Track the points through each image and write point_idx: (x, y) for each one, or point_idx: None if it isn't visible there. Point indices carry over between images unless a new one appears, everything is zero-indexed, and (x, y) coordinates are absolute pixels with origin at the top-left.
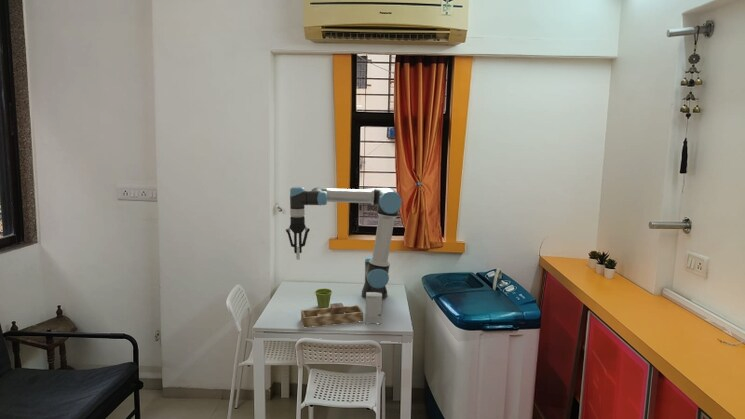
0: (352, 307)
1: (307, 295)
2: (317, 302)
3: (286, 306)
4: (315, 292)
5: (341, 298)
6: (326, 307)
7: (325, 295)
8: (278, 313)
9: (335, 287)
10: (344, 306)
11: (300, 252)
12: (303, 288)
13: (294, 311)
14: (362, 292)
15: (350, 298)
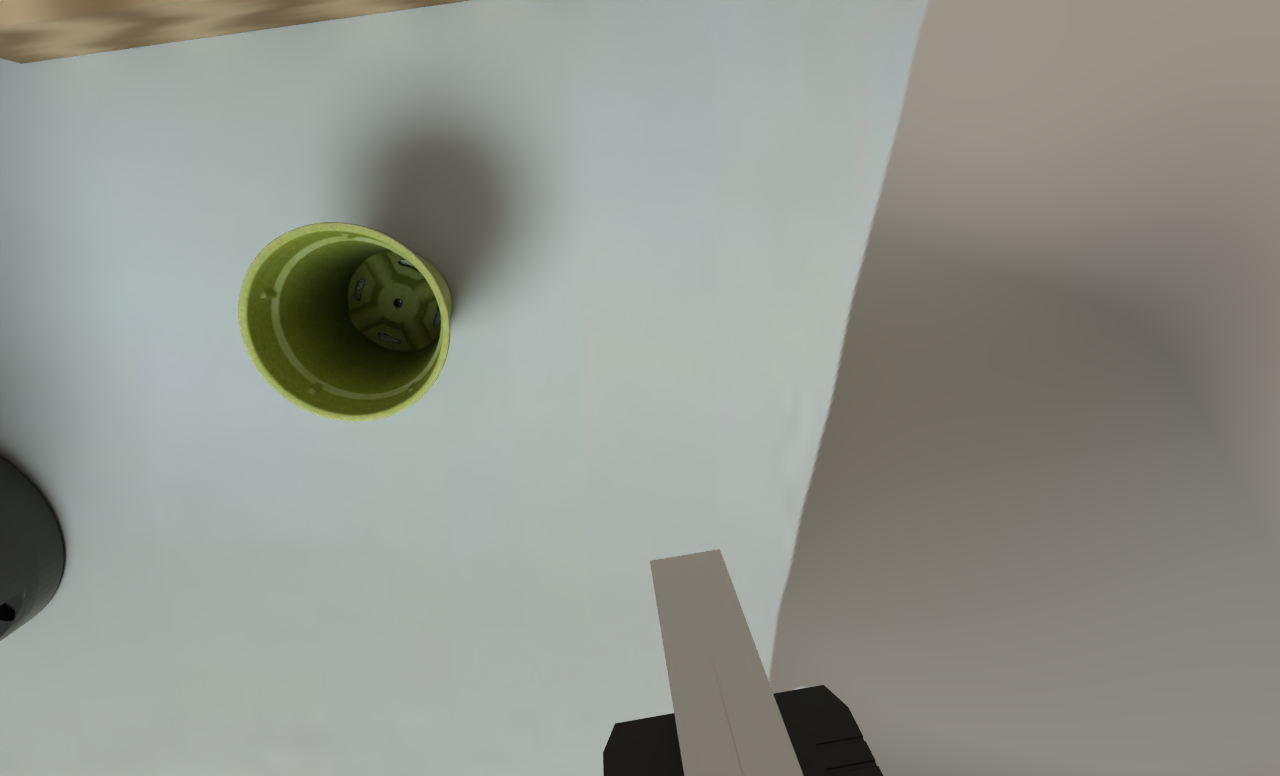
0: (1, 3)
1: (560, 556)
2: (445, 295)
3: (730, 326)
4: (438, 302)
5: (250, 476)
6: (367, 258)
7: (318, 233)
8: (798, 168)
9: (332, 715)
10: (92, 13)
11: (642, 734)
12: (600, 699)
13: (659, 202)
14: (16, 529)
15: (164, 472)
